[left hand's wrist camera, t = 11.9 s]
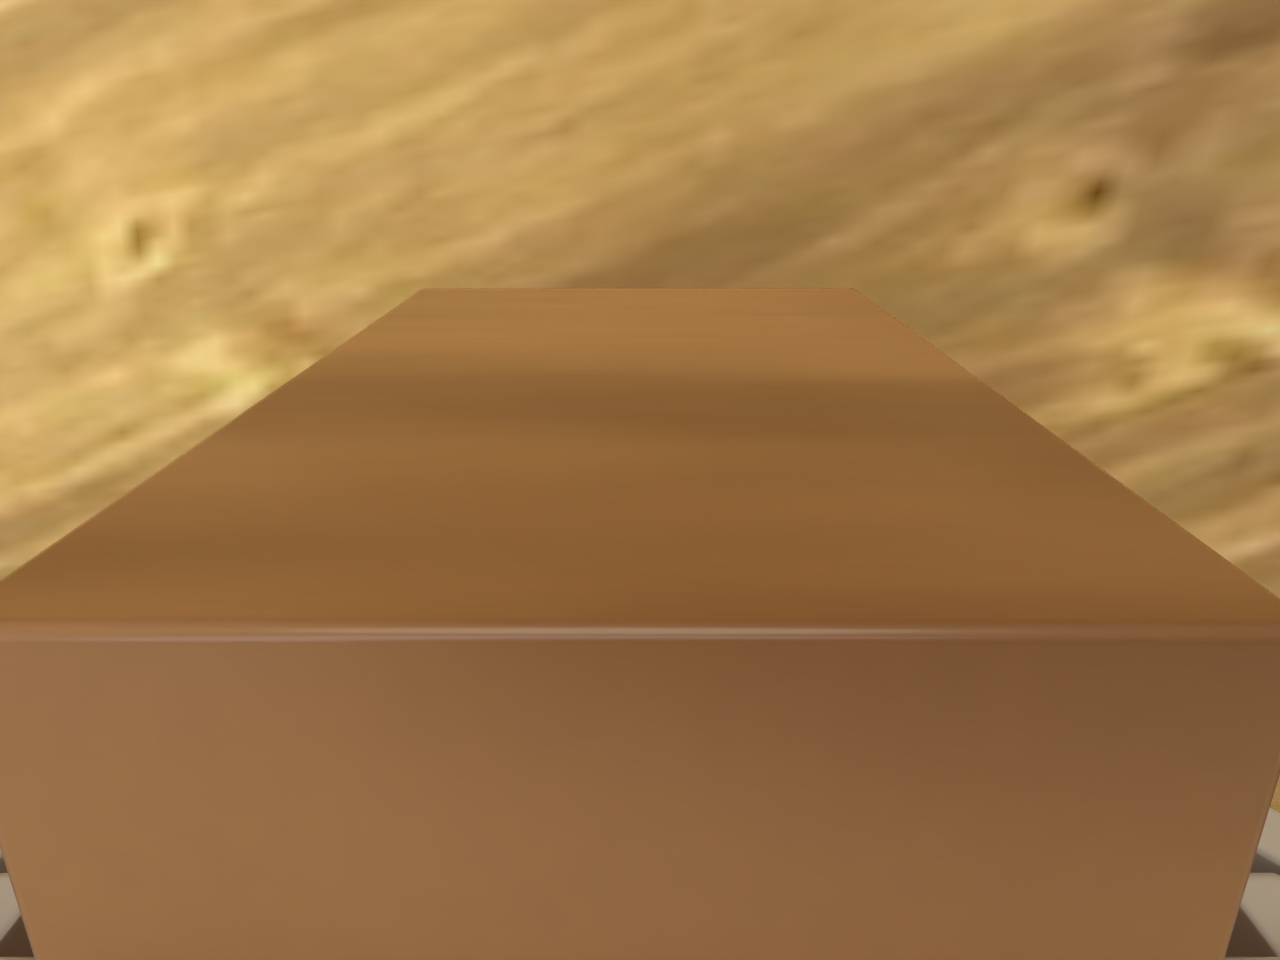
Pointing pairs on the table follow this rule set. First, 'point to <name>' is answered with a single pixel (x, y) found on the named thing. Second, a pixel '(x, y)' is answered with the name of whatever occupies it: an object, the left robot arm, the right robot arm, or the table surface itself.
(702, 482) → the box
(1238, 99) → the table surface
